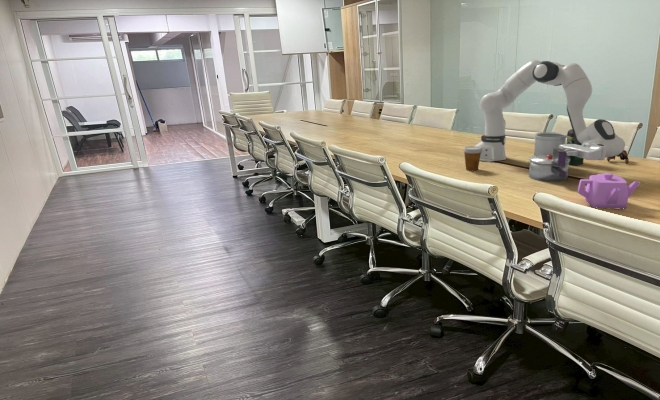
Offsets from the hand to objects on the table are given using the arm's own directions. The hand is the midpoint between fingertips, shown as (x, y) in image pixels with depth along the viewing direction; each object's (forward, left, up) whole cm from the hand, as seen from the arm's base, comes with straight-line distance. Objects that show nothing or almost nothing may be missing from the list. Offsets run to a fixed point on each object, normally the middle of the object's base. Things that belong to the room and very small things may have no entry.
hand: (564, 153), depth 194 cm
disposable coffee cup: (-45, +13, -14) cm, 49 cm away
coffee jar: (+1, +43, -14) cm, 46 cm away
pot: (-6, +7, -14) cm, 17 cm away
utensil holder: (-10, +31, -14) cm, 36 cm away
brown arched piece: (+21, +53, -15) cm, 59 cm away
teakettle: (+19, -25, -15) cm, 35 cm away
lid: (-5, +7, -6) cm, 10 cm away
